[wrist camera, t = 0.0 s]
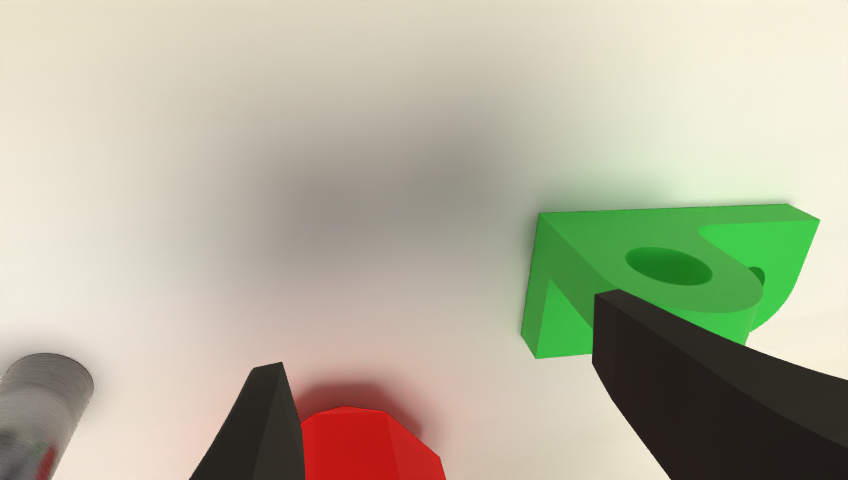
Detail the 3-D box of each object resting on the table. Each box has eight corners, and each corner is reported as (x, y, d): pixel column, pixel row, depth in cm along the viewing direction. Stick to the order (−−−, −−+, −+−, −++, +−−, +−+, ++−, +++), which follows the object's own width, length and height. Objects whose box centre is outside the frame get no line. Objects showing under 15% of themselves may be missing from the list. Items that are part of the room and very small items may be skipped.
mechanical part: (519, 331, 25) (604, 471, 18) (537, 210, 23) (643, 319, 16) (744, 313, 28) (895, 430, 21) (784, 202, 25) (971, 292, 18)
